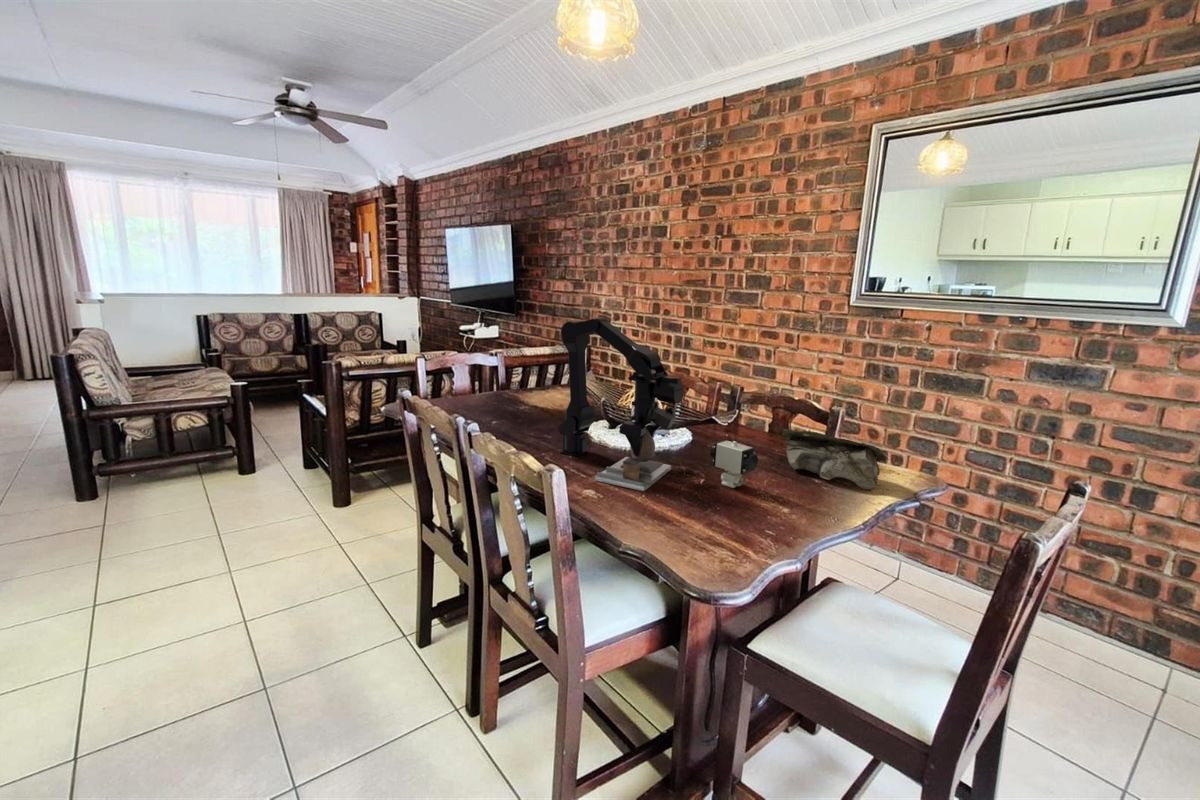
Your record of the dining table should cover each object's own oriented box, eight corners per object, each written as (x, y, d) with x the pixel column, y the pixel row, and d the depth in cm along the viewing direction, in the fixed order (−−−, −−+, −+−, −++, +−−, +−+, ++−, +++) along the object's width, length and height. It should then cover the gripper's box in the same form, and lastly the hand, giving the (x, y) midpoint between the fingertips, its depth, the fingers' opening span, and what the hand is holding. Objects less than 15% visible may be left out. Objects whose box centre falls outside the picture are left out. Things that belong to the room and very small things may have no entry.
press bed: (595, 480, 142) (595, 472, 141) (626, 460, 158) (626, 453, 158) (643, 491, 136) (644, 483, 135) (671, 469, 152) (671, 462, 151)
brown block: (622, 480, 139) (623, 461, 138) (628, 475, 142) (629, 457, 141) (633, 482, 138) (634, 463, 137) (639, 478, 141) (640, 459, 140)
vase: (655, 464, 147) (657, 433, 145) (630, 463, 147) (631, 432, 145) (653, 456, 154) (655, 426, 152) (629, 455, 154) (630, 425, 152)
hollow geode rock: (776, 479, 160) (762, 451, 150) (792, 444, 165) (779, 415, 155) (878, 504, 141) (870, 475, 132) (892, 464, 146) (885, 432, 136)
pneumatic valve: (745, 494, 136) (749, 448, 133) (707, 481, 144) (710, 437, 141) (757, 489, 139) (761, 444, 137) (719, 476, 148) (723, 434, 145)
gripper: (659, 408, 135) (656, 467, 139) (684, 395, 151) (681, 449, 155) (619, 402, 140) (617, 459, 144) (648, 390, 156) (645, 442, 160)
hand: (642, 452), depth 150 cm, fingers closed on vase, 7 cm apart
